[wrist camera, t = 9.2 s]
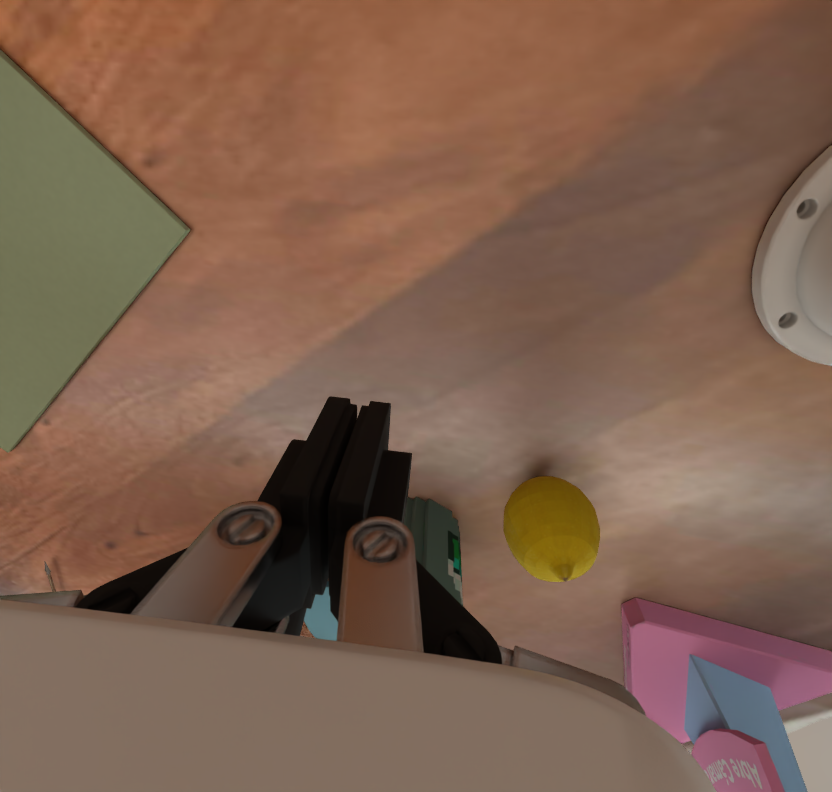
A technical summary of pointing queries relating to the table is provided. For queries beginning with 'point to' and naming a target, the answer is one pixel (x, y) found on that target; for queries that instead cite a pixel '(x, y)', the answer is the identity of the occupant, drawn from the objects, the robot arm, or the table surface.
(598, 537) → the fruit
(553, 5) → the table surface
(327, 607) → the decorative object
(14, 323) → the mat
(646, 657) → the trophy
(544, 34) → the table surface
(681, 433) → the table surface
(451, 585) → the can
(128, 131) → the table surface
